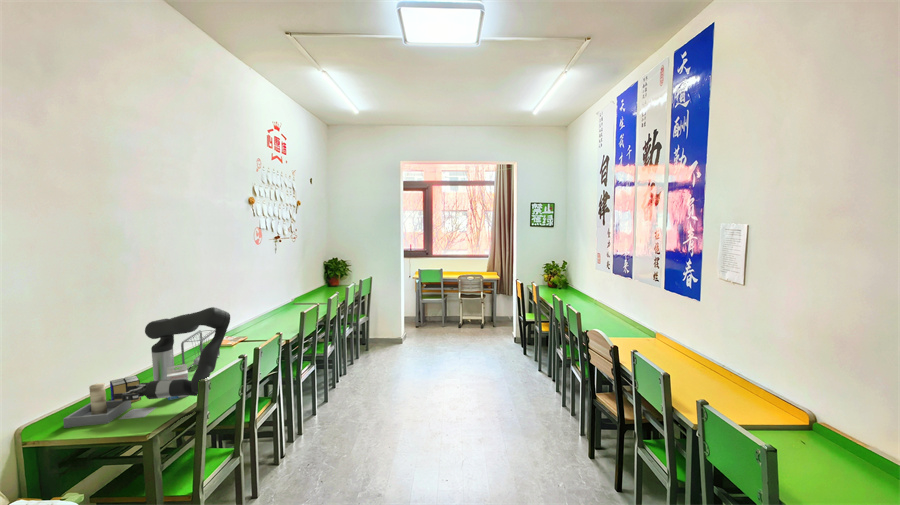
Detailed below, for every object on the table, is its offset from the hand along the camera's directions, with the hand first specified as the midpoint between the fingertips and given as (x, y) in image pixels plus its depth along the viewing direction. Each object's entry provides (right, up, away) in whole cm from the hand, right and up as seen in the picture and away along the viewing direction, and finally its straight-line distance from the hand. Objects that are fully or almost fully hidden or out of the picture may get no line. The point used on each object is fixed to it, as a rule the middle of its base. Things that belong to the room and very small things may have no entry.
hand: (120, 392), depth 178 cm
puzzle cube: (-10, -10, +16) cm, 21 cm away
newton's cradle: (-5, -6, +68) cm, 69 cm away
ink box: (+13, -9, +19) cm, 24 cm away
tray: (-8, -10, -1) cm, 13 cm away
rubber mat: (+7, -10, +2) cm, 12 cm away
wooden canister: (-8, -9, -1) cm, 12 cm away
